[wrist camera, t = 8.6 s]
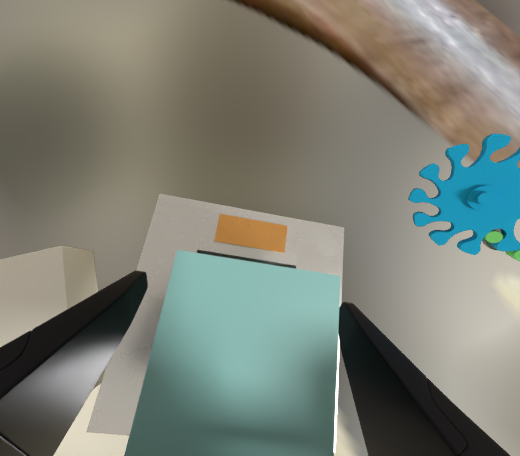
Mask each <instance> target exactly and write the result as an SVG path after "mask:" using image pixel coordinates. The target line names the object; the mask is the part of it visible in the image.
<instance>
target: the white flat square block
mask: <svg viewBox="0 0 520 456" xmlns="http://www.w3.org/2000/svg"><path fill="white" fill-rule="evenodd" d="M97 292H98V286H97V278H96V269H95V261H94V253H93V251H89V250H84V249H79V248H74V247H69V246H63V245H60V246H56V247H51V248H47V249H43V250H39V251H34V252H30V253H25V254H21V255H17V256H12V257H8V258H3V259H0V347H1V346H3V345H5V344H7V343H9V342H11V341H12V340H14V339H16V338H18V337H19V336H21V335H23V334H25V333H26V332H28V331H32V330H33V329H34V328H35V327H37V326H39V325H41V324H42V323H44V322H46V321H48V320H49V319H51V318H53V317H55V316H56V315H58V314H60V313H62V312H63V311H65V310H67V309H69V308H70V307H72V306H74V305H76V304H77V303H79V302H81V301H83V300H84V299H86V298H88V297H90V296H91V295H93V294H95V293H97ZM105 370H106V368H105V369H104V371H103V373H102V374H101V376H100V378H99V379H98V381H97V383H96V384H95V386H94V388H95V387H97V386H98V385H99V384H100V383H102V380H103V376H104V373H105ZM94 388H93V389H94ZM93 389H92V390H93Z"/></svg>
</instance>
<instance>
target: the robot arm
mask: <svg viewBox="0 0 520 456" xmlns="http://www.w3.org/2000/svg"><path fill="white" fill-rule="evenodd" d="M147 288H148V282H147V274H146V272H144V271H134V272H132V273H130V274H128V275H127V276H125V277H123V278H121V279H120V280H118V281H116V282H114V283H113V284H111V285H109V286H107V287H106V288H104V289H102V290H100V291H98V292H97V293H95V294H93V295H91V296H90V297H88V298H86V299H84V300H83V301H81V302H79V303H77V304H76V305H74V306H72V307H70V308H69V309H67V310H65V311H63V312H62V313H60V314H58V315H56V316H55V317H53V318H51V319H49V320H48V321H46V322H44V323H42V324H41V325H39V326H37V327H35V328H34V329H33V330H32V331H28V332H26V333H25V334H23V335H21V336H19V337H18V338H16V339H14V340H12V341H11V342H9V343H7V344H5V345H3V346H1V347H0V456H53V455H54V453H55V452H56V450H57V448H58V447H59V445H60V443H61V442H62V440H63V438H64V437H65V435H66V433H67V432H68V430H69V428H70V426H71V425H72V423H73V421H74V420H75V418H76V416H77V415H78V413H79V411H80V410H81V408H82V406H83V405H84V403H85V401H86V400H87V398H88V396H89V394H90V393H91V391H92V389H93V388H94V386H95V384H96V383H97V381H98V379H99V378H100V376H101V374H102V373H103V371H104V369H105V368H106V366H107V364H108V362H109V361H110V359H111V357H112V356H113V354H114V352H115V351H116V349H117V347H118V346H119V344H120V342H121V341H122V339H123V337H124V336H125V334H126V332H127V330H128V329H129V327H130V325H131V323H132V321H133V319H134V317H135V315H136V313H137V311H138V308H139V306H140V304H141V302H142V300H143V297H144V295H145V293H146V291H147ZM338 334H339V340H340V346H341V351H342V356H343V359H344V363H345V367H346V371H347V375H348V379H349V383H350V386H351V390H352V394H353V398H354V402H355V406H356V410H357V414H358V417H359V421H360V425H361V429H362V433H363V437H364V440H365V444H366V448H367V452H368V456H510V455H509V454H508V453H507V452H506V451H505V450H503V448H501V447H500V446H499V445H498V444H497V443H496V442H495V441H494V440H493V439H491V438H490V437H489V436H488V435H487V434H486V433H485V432H484V431H483V430H482V429H480V428H479V427H478V426H477V425H476V424H475V423H474V422H473V421H472V420H471V419H470V418H469V417H467V416H466V415H465V414H464V413H463V412H462V411H461V410H460V409H459V408H458V407H457V406H456V405H455V404H453V403H452V402H451V401H450V400H449V399H448V398H447V397H446V396H445V395H444V394H443V393H442V392H441V391H440V390H439V389H438V388H437V387H436V386H435V385H434V384H433V383H432V382H431V381H430V380H429V379H428V378H426V376H425V375H424V374H423V373H422V372H421V371H420V370H419V369H418V368H417V367H416V366H415V365H414V364H413V363H412V362H411V361H410V360H409V359H408V358H407V357H406V356H405V355H404V354H403V353H402V352H401V351H400V350H399V349H398V348H397V347H396V346H395V345H394V344H393V343H392V342H391V341H390V340H389V339H388V338H387V337H386V336H385V335H384V334H383V333H382V332H381V331H380V330H379V329H378V328H377V327H376V326H375V325H374V324H373V323H372V322H371V321H370V320H369V319H368V318H367V317H366V316H365V315H364V314H363V313H362V312H361V311H360V310H359V309H358V308H357V307H356V306H355V305H354V304H353V303H349V302H343V303H342V304H341V306H340V307H339V329H338Z"/></svg>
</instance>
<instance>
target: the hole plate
mask: <svg viewBox="0 0 520 456" xmlns="http://www.w3.org/2000/svg"><path fill="white" fill-rule="evenodd" d="M343 244H344V227H338V226H333V225H328V224H322V223H316V222H311V221H306V220H301V219H295V218H290V217H284V216H279V215H274V214H268V213H262V212H257V211H251V210H246V209H240V208H236V207H230V206H225V205H219V204H214V203H209V202H203V201H198V200H192V199H187V198H182V197H176V196H171V195H166V194H159V196H158V199H157V203H156V206H155V209H154V213H153V216H152V219H151V223H150V226H149V229H148V232H147V235H146V239H145V242H144V245H143V249H142V252H141V255H140V259H139V262H138V265H137V268H136V271H144V272H146V274H147V282H148V288H147V291H146V293H145V295H144V297H143V300H142V302H141V304H140V306H139V308H138V311H137V313H136V315H135V317H134V319H133V321H132V323H131V325H130V327H129V329H128V330H127V332H126V334H125V336H124V337H123V339H122V341H121V342H120V344H119V346H118V347H117V349H116V351H115V352H114V354H113V356H112V357H111V359H110V361H109V362H108V364H107V366H106V370H105V373H104V376H103V380H102V383H101V386H100V389H99V393H98V396H97V399H96V402H95V406H94V409H93V412H92V416H91V419H90V422H89V425H88V429H87V432H92V433H105V434H117V435H129V436H130V432H131V428H132V424H133V420H134V416H135V412H136V408H137V404H138V401H139V397H140V393H141V389H142V385H143V381H144V377H145V373H146V369H147V365H148V362H149V358H150V354H151V350H152V346H153V342H154V338H155V334H156V330H157V326H158V323H159V319H160V315H161V311H162V307H163V303H164V299H165V295H166V291H167V287H168V284H169V280H170V276H171V272H172V268H173V264H174V260H175V256H176V252H177V250H182V251H188V252H194V253H200V254H207V255H213V256H219V257H225V258H232V259H238V260H244V261H250V262H257V263H263V264H269V265H275V266H282V267H288V268H294V269H300V270H307V271H313V272H319V273H325V274H332V275H338V276H341V277H340V303H339V307H340V306H341V296H342V270H343V269H342V268H343ZM339 347H340V340H339V334H338V355H337V380H336V406H335V432H334V452H335V451H336V425H337V399H338V373H339Z"/></svg>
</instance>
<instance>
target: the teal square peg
mask: <svg viewBox="0 0 520 456" xmlns="http://www.w3.org/2000/svg"><path fill="white" fill-rule="evenodd" d="M340 277H341V276H338V275H332V274H325V273H319V272H313V271H307V270H300V269H294V268H288V267H282V266H275V265H269V264H263V263H257V262H250V261H244V260H238V259H232V258H225V257H219V256H213V255H207V254H200V253H194V252H188V251H182V250H177V252H176V256H175V260H174V264H173V268H172V272H171V276H170V280H169V284H168V287H167V291H166V295H165V299H164V303H163V307H162V311H161V315H160V319H159V323H158V326H157V330H156V334H155V338H154V342H153V346H152V350H151V354H150V358H149V362H148V365H147V369H146V373H145V377H144V381H143V385H142V389H141V393H140V397H139V401H138V404H137V408H136V412H135V416H134V420H133V424H132V428H131V432H130V436H129V440H128V443H127V447H126V451H125V455H124V456H334V432H335V406H336V380H337V355H338V329H339V303H340Z"/></svg>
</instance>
